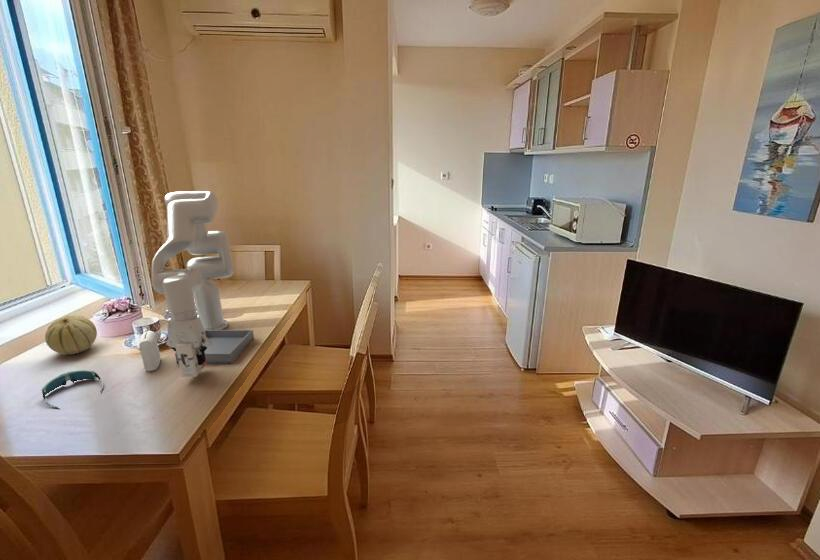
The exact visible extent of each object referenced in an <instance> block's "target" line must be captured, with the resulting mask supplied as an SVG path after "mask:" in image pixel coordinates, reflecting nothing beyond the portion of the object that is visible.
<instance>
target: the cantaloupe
mask: <svg viewBox="0 0 820 560" xmlns="http://www.w3.org/2000/svg"><path fill="white" fill-rule="evenodd" d="M97 335H98V330H97V327H96V325H95V324H94V322H93V321H91V320H90V319H89V318H87V317H85V316H82V315H76V314H73V315H66V316H62V317H59V318H57V319H56V320H54V321H53V322H51V323H50V325H49V326H48V328H47V330H46V332H45V334H44V336H45V337H44V339H45V341H44V342H45V343H46V345H47V347H48V348H49V349H51V350H52V351H53V352H55V353H56V354H57V353H58V354H61V355H66V354H70V355H75V353H77V354H79V352H80V353H82V351H83V352H84V350H85V351H87V350H88V349H89V348H90V347H91V346H92V345H93V344H94V343H95V341H96V339H97Z"/></svg>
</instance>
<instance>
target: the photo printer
mask: <svg viewBox="0 0 820 560" xmlns="http://www.w3.org/2000/svg"><path fill="white" fill-rule="evenodd" d="M138 346H139V350H140V356H141V360H142V363H143V367H144V370H145V371H146V372H154V371H155V370H157V369H158V368H159V366H160V363H161V358H162V357H161V353H160V349H159V344H158V339H157V336H156V334H155V332H154V331H152V330H148V331H147V330H146V331H145V332H143V333H142V334H141V336H140V337H139V341H138Z"/></svg>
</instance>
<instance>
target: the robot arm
mask: <svg viewBox="0 0 820 560" xmlns="http://www.w3.org/2000/svg"><path fill="white" fill-rule="evenodd" d="M164 202H165V206H166V238H167V239H166V241H165V243H163V244H162V246H160V247H159V249H158V250H157V251H156V252H155V254H154V256H153V257H152V261H151V270H150V271H151V274H150V275H151V286H152V288H153V291H155V292H156V293H157V294H162V295H163V294H164V297H165V301H166V306H167V310H165V314H166V315H168V316H169V318H168V319H167V327H166V328H167V336H168V340H166V341H167V342H166V343H165V345H166V346H168V347H170V348H171V350H173V351H174V353H176V354H177V352H176V348H175V346H176V345H177V344H186V343H192V347H193V348H195V349H196V351H197V353H198V354H197V360H198V365H202V364H203V363H204V362H205V360H206V358H205V352H204V351H205V350H206V349H207V348H208V347H209V346H210V345H211V344H212V342H211V341H210V340H209V339H208V338H207V337H206V334H205V330H225V329H226V328H227V327H228V326H229V321H228V320H227V319H224V313H223V307H222V301H221V296H220V289H219V286H218V285H217V284H216V283H215V281H213V280H216V279H225V278H230V277H232V276H233V274H234V270H235V267H234V260H233V256H232V251H231V250H232V249H231V244H230V239H229V236H228V235H227V233H226V232H225V231H223V230H208V229H207V225H206V224H207V223H212V222H213V221H214V220H215V218H216V214H217V212H218V208H219V202H218V198H217V195H216V194H215V192H213V191H211V190H201V191H200V190H196V191H194V190H193V191H174V192H168V193H167V194H166V195H165V196H164ZM184 251H187V252H188V253H189V254H190V255H193V256H197V257H193V258H191V259H189V260H188V261H187V262H186V266H185V267H186V268H181V269H180V268H179V269H168V270H167V269H165V270H164V268H165V266H166V263H167V262H169V260H171V258H173V257H175V256H176V255H178V254H180V253H183V252H184ZM206 255H209V256H206ZM210 255H212V256H210ZM203 342H204V343H205V346H204V345H203ZM200 348H201V349H200Z"/></svg>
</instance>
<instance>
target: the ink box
mask: <svg viewBox="0 0 820 560" xmlns="http://www.w3.org/2000/svg"><path fill="white" fill-rule="evenodd" d="M175 348H176V352H177V356H178V361H179V363H178V364H179V370H180V374H181V377H182V378H190V377H192V378H193V377H195V378H196V377H198V375H199V374H200V373H201V372H202V370H203V369H204V367H205V366H206V365H207V361H206V360H205V362H204V363H203V364H202V365H198V360H197V354H198V353H197V351H196V349H195V348H193V347H192V343H186V344H177V345H176V346H175ZM200 349H201V348H200ZM176 352H175V353H176ZM204 352H205V351H204ZM205 358H206V356H205Z"/></svg>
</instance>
